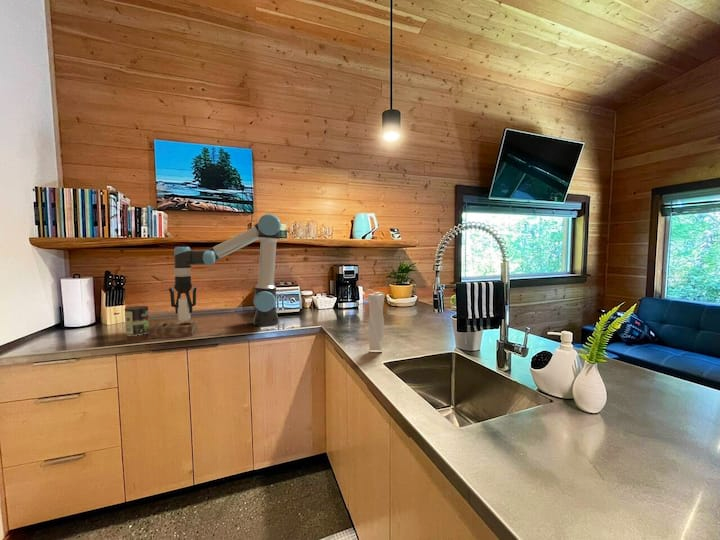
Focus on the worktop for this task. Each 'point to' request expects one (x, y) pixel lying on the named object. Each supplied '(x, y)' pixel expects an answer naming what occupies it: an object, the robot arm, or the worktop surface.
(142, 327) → the coffee can
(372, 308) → the skyscraper
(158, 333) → the socket block
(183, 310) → the square peg
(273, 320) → the robot arm
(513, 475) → the worktop surface
